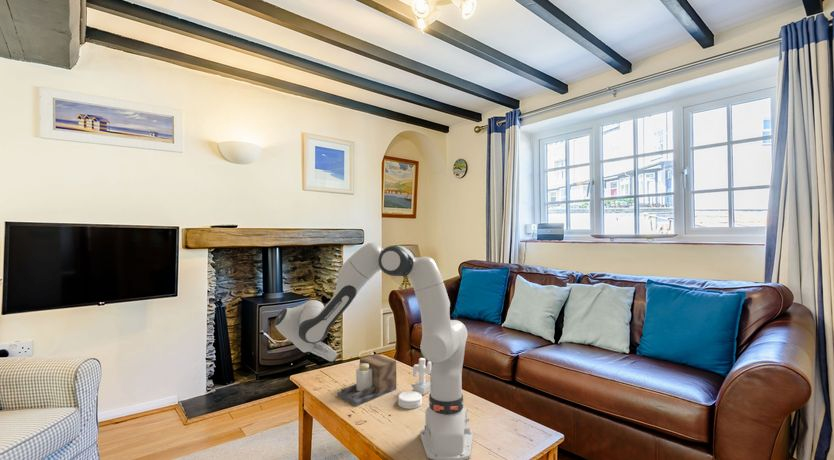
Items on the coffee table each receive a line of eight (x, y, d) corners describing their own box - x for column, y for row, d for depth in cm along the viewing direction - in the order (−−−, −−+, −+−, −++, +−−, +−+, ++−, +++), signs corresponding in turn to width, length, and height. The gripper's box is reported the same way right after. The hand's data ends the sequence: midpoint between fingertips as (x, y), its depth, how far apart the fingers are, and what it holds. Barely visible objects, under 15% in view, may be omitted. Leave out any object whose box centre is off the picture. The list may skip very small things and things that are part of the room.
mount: (356, 406, 155) (356, 374, 155) (337, 396, 165) (336, 366, 165) (396, 389, 171) (396, 360, 171) (376, 380, 181) (376, 353, 181)
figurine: (418, 386, 173) (418, 354, 173) (435, 391, 168) (435, 358, 168) (409, 392, 168) (408, 358, 168) (426, 397, 162) (425, 362, 162)
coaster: (423, 399, 161) (423, 390, 161) (420, 410, 151) (420, 401, 151) (400, 398, 162) (400, 390, 162) (396, 409, 152) (396, 400, 152)
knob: (363, 393, 163) (363, 367, 163) (356, 389, 166) (356, 365, 166) (372, 389, 167) (372, 364, 167) (365, 386, 170) (365, 362, 170)
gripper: (326, 338, 141) (348, 358, 148) (300, 328, 156) (322, 347, 163) (316, 353, 138) (339, 372, 145) (290, 341, 153) (312, 359, 159)
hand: (329, 359), depth 154 cm, fingers closed
